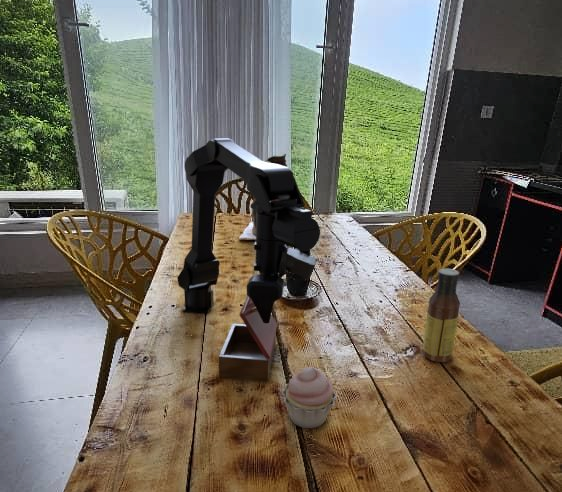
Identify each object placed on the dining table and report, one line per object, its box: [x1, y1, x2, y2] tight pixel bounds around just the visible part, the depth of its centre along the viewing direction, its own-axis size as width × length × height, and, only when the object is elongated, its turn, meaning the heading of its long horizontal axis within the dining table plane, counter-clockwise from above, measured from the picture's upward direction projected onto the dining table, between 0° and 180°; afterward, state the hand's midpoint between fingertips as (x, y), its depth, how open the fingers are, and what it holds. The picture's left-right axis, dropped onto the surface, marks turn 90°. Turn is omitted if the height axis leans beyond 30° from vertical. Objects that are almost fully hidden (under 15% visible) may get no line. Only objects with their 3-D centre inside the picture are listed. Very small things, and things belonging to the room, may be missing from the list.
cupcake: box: [281, 366, 338, 429], centre depth 75 cm, size 9×9×10 cm
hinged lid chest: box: [218, 323, 277, 383], centre depth 92 cm, size 10×14×5 cm
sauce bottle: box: [422, 267, 461, 363], centre depth 93 cm, size 6×6×20 cm
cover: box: [239, 295, 278, 359], centre depth 88 cm, size 10×14×5 cm
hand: (269, 312), depth 88 cm, fingers open, 9 cm apart
